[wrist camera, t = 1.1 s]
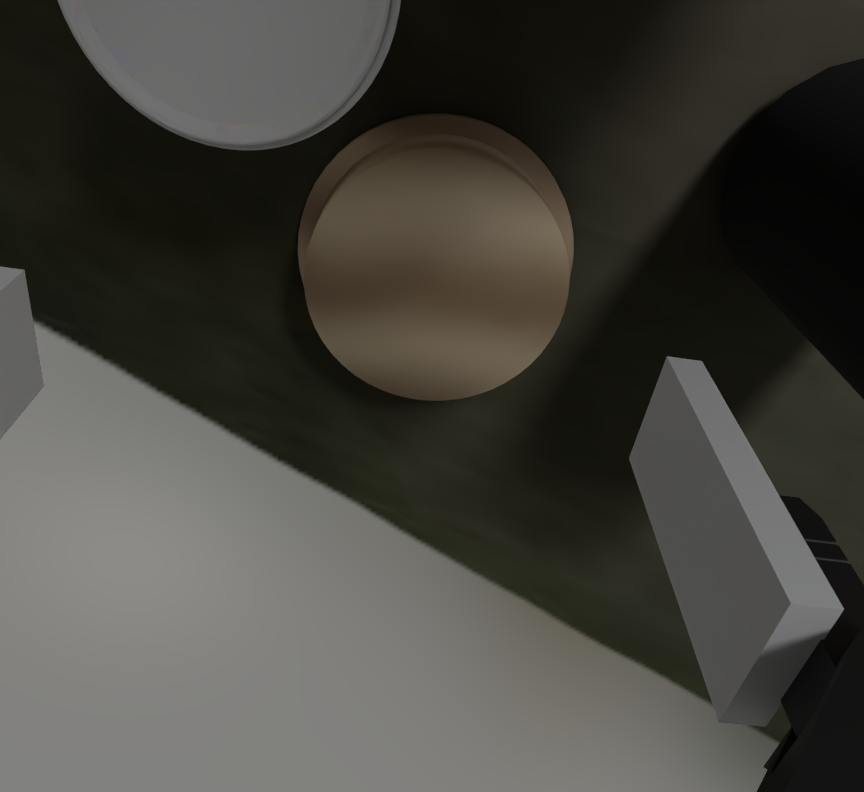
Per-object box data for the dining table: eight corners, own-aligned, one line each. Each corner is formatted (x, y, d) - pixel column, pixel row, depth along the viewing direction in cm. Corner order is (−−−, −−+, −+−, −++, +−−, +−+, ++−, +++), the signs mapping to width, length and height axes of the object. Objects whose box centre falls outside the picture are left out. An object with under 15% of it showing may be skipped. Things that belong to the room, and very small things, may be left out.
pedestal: (315, 85, 32) (302, 103, 28) (607, 145, 33) (629, 169, 30) (287, 349, 38) (274, 390, 35) (531, 390, 40) (540, 433, 36)
